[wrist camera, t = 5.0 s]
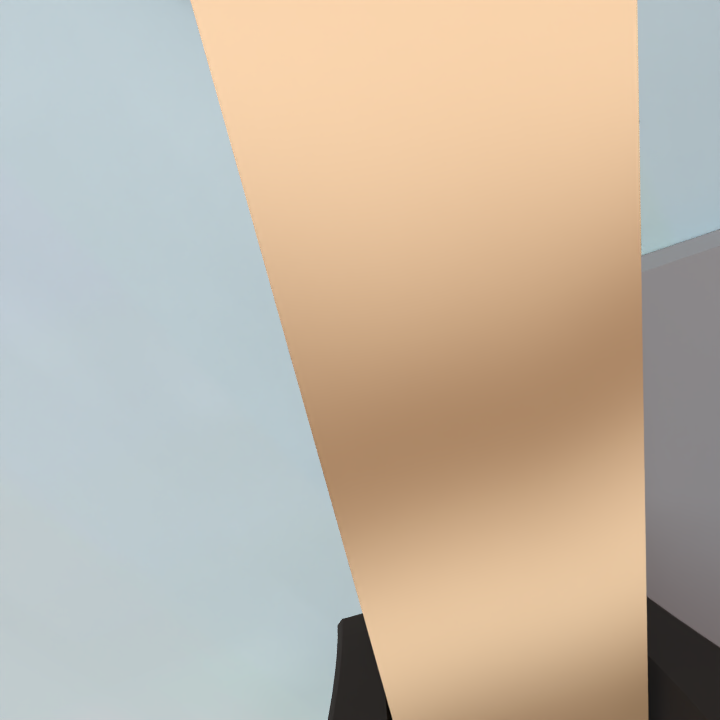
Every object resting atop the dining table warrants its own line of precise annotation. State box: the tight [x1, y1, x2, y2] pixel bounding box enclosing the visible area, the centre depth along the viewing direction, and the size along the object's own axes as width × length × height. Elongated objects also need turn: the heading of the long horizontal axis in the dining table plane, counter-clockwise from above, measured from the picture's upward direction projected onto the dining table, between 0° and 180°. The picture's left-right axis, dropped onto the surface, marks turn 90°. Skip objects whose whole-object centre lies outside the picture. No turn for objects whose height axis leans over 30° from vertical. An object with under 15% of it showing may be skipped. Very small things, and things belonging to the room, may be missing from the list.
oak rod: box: [191, 0, 648, 720], centre depth 11 cm, size 22×4×5 cm, turn 12°
